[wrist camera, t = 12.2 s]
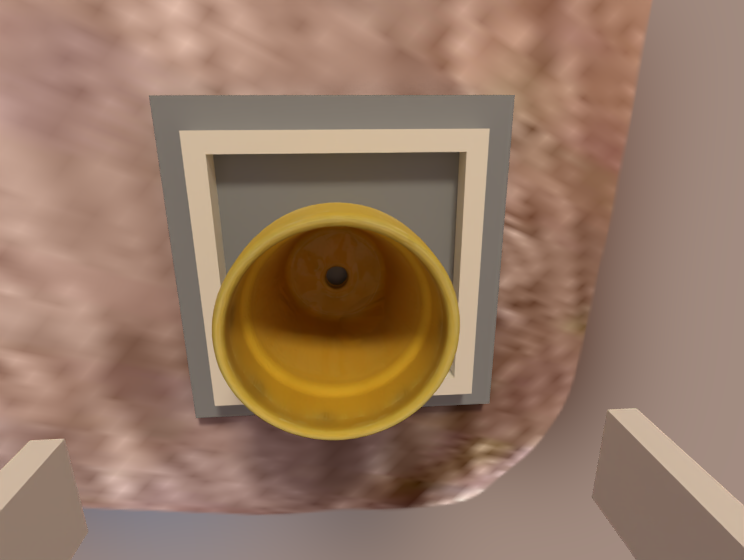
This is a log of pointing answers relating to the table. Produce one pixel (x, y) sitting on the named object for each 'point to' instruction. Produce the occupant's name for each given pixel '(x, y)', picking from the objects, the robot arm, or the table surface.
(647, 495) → the robot arm
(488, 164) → the board
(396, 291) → the plant pot
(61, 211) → the table surface
